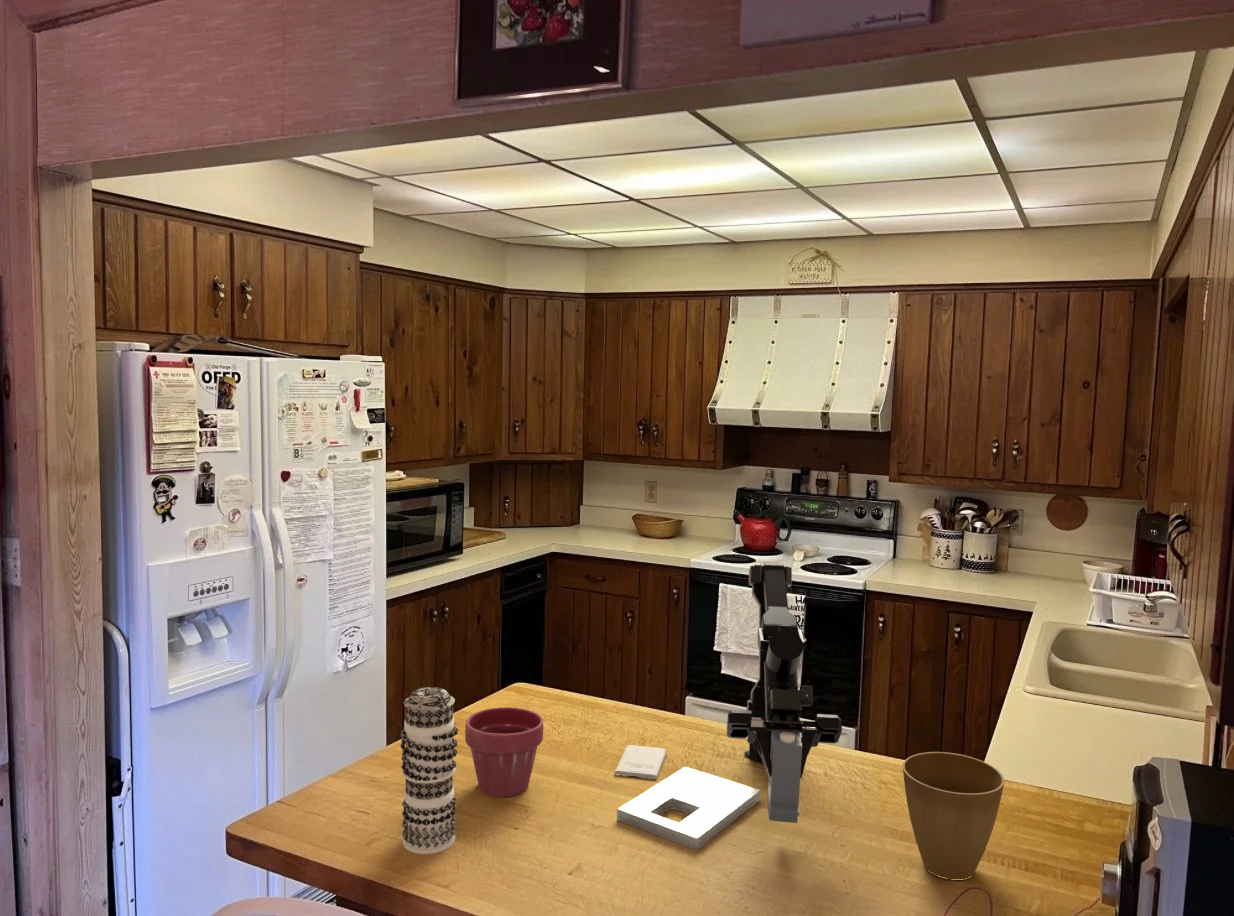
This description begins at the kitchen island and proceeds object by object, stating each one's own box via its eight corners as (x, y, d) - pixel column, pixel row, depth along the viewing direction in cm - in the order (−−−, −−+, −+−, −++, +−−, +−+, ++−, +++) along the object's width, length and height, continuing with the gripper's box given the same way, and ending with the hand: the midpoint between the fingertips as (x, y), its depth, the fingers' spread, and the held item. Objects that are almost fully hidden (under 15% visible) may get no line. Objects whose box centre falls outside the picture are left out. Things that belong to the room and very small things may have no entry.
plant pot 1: (533, 766, 178) (533, 702, 177) (550, 798, 164) (551, 729, 163) (459, 775, 173) (459, 709, 172) (471, 808, 160) (472, 738, 159)
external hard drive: (666, 756, 185) (656, 782, 173) (627, 752, 187) (614, 777, 175) (666, 748, 185) (656, 774, 173) (627, 744, 187) (614, 769, 175)
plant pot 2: (905, 836, 153) (910, 744, 152) (1001, 858, 147) (1007, 762, 145) (890, 879, 140) (895, 779, 138) (995, 906, 133) (1001, 801, 132)
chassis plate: (684, 776, 175) (685, 766, 174) (759, 800, 165) (760, 790, 165) (616, 820, 157) (617, 808, 157) (696, 850, 147) (696, 838, 147)
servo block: (766, 799, 155) (771, 720, 154) (793, 801, 155) (798, 722, 153) (769, 826, 146) (774, 742, 145) (798, 828, 146) (803, 744, 144)
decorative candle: (457, 825, 154) (458, 681, 152) (457, 853, 145) (458, 700, 143) (402, 828, 153) (402, 683, 150) (398, 857, 143) (398, 703, 141)
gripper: (729, 663, 153) (730, 754, 143) (842, 668, 151) (851, 760, 141) (726, 692, 161) (726, 780, 151) (833, 698, 160) (840, 786, 150)
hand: (785, 776), depth 148 cm, fingers closed on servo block, 5 cm apart
